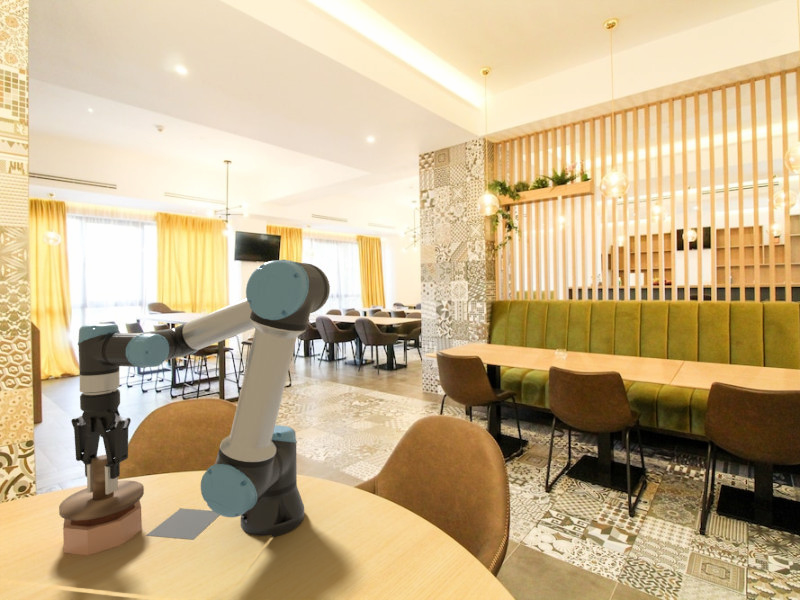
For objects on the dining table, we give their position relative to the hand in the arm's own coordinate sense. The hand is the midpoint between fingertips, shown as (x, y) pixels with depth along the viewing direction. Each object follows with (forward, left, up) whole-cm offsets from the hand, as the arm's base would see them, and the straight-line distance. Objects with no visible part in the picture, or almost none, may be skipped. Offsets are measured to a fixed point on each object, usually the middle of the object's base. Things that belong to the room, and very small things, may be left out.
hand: (102, 490), depth 97 cm
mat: (-16, -7, -11) cm, 21 cm away
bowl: (0, 0, -11) cm, 11 cm away
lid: (0, 0, -3) cm, 3 cm away
